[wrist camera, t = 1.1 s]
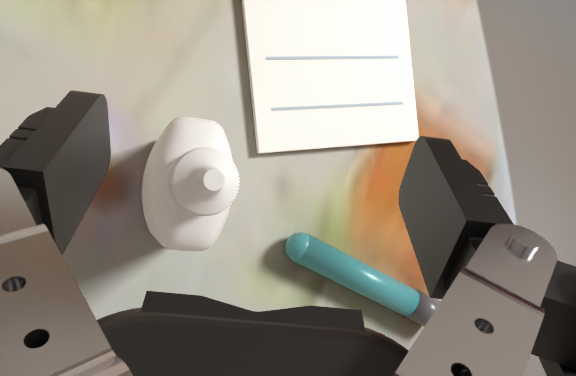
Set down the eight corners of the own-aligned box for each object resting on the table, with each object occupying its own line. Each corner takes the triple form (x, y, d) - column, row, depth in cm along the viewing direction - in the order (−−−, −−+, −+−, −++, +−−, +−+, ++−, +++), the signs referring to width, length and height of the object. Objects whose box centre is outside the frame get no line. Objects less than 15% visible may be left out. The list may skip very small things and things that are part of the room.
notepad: (257, 153, 28) (260, 152, 27) (232, -84, 28) (235, -90, 27) (414, 140, 32) (420, 140, 31) (394, -69, 32) (399, -74, 31)
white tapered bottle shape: (233, 168, 28) (312, 148, 16) (178, 251, 26) (222, 291, 15) (169, 123, 26) (205, 68, 15) (108, 208, 25) (99, 217, 14)
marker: (275, 254, 28) (286, 258, 27) (289, 225, 29) (300, 227, 27) (425, 327, 32) (443, 335, 30) (436, 301, 32) (454, 307, 30)
